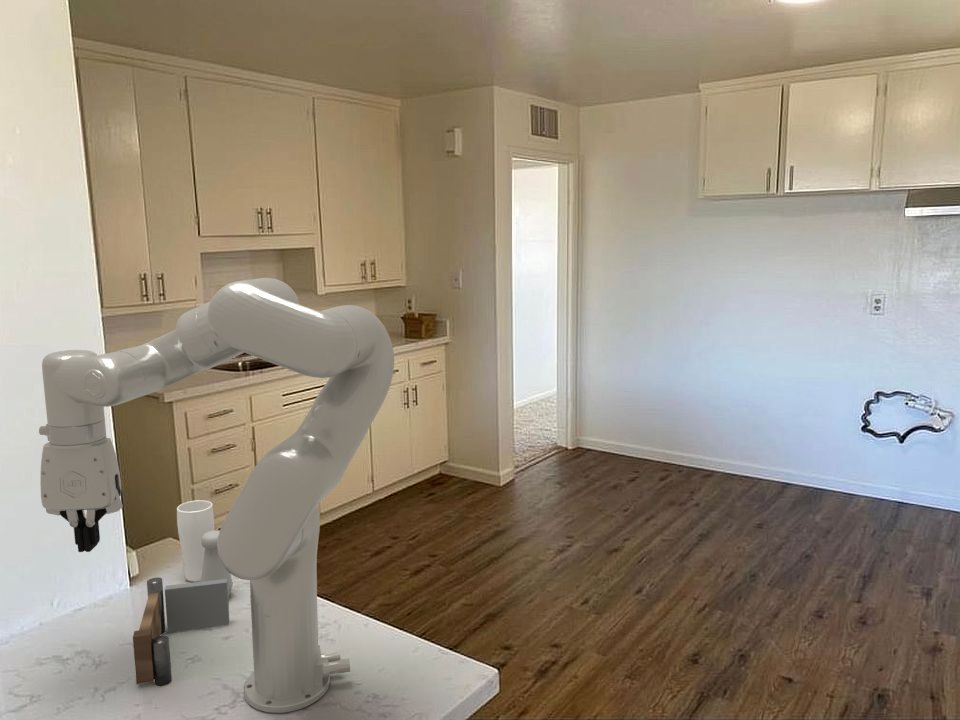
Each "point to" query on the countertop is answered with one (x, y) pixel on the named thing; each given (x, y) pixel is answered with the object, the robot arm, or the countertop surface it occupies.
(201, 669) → the countertop surface
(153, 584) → the hinge post
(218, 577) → the salt shaker
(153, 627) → the gate
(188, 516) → the drinking glass
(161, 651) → the post
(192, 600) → the grey rectangular slab
